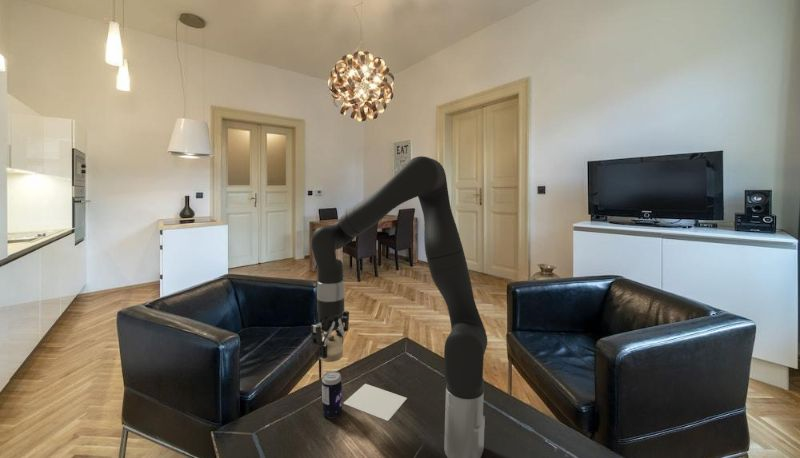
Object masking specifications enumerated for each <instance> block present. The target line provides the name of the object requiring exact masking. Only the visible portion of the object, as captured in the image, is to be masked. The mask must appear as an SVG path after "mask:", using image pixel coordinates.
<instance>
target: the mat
mask: <svg viewBox="0 0 800 458" xmlns="http://www.w3.org/2000/svg"><path fill="white" fill-rule="evenodd" d="M406 400H408V397H405V396H402V395H399V394H397V393H394V392H390V391H387V390H385V389H383V388H380V387H377V386H373V385H370V384H368V383H364V384H363V385H362V386H360V388H358V390H356V391H355V392H354V393H353V394H352V395H351V396H349V398H347V399H346V400H345V401H343V402H342V405H343V404H344V405H345V406H346V405H347V406H349V407H351V408H354V409H356V410H359V411H361V412H363V413H367V414H369V415H372V416H374V417H377V418H379V419H381V420H385V421H386V422H388V421H390V419H391V418H392V417H393V416H394V415H395V413H396V412H397V411H398V410H399V408H401V406H402V405H403V404H404V403H405V401H406Z"/></svg>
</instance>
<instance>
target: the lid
mask: <svg viewBox="0 0 800 458" xmlns="http://www.w3.org/2000/svg"><path fill="white" fill-rule="evenodd" d="M322 341H324V337H323V339H322ZM343 347H344V338H343V339H342V337H341V336H338V335H337V334H331V336H330V338H328V342H327V358H325V359H324V358H321V357H320V356H319V359H320V360H321V361H323V362H326V363H334V362H338V361H339V360H341V359H342V358H343V356H344V354H343V353H344V352H343Z"/></svg>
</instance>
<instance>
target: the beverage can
mask: <svg viewBox="0 0 800 458" xmlns="http://www.w3.org/2000/svg"><path fill="white" fill-rule="evenodd" d="M321 395H322V396H321V398H322V400H321V405H322V407H321V408H322V415H323V416H324V417H326V418H328V419H334V418H337V417H339V416H340V415H341V414H342V412H343V378H342V376H341V373H340V372H339V371H327V372H326V373H324V375H323V376H322V379H321Z"/></svg>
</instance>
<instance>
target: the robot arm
mask: <svg viewBox="0 0 800 458" xmlns="http://www.w3.org/2000/svg"><path fill="white" fill-rule="evenodd" d="M414 198H418V200H419V203H420V207H421V211H422V214H423V221H424V224H423V225H424V227H423V228H424V233H423V235H424V239H423V240H424V251H425V252H424V253H425V258H426V261H427V265H428V269H429V273H430V276H431V279H432V281H433V282H434V285H435V286H436V288H437V290H438V291H439V294H440V295H441V297H442V298H443V300H444V302H445V304H446V307H447V311H448V315H449V321H450V327H451V328H450V329H451V330H450V333H449V334H448V336H447V337H446V340H445V343H444V348H443V349H444V352H443V353H444V354H443V371H444V372H443V375H444V380H445V407H444V411H445V414H444V440H443V444H444V446H443V447H444V448H443V449H444V454H445V456H446V457H447V458H482V455H483V453H484V449H485V446H484V443H485V426H486V425H485V424H486V423H485V421H486V420H485V419H486V416H485V415H484V394H485V380H484V379H485V378H484V377H483V376H484V358H485V353H486V350H487V346H488V335H487V332H486V329H485V326H484V323H483V320H482V318H481V316H480V313H479V310H478V308H477V305H476V301H475V296H474V293H473V287H472V282H471V277H470V272H469V268H468V262H467V259H466V255H465V251H464V247H463V244H462V241H461V237H460V234H459V230H458V226H457V223H456V221H455V217H454V215H453V212H452V206H451V202H450V196H449V188H448V181H447V174H446V171H445V169H444V166H443V165H442V164H441V162H439V161H438V160H436V159H434V158H431V157H428V156H424V155H423V156H421V155H420V156H416V157H413V158H411V159H410V160H408V162H407V163H405V164H404V166H402V167H401V168H400V169H399V170H398V171H397V172H396V173H395V174H394V175H393V176H392V177H391V178H390V179H389V180H388V181H387V182H385V183H384V184H383V185H382V186H381V187H379V188H378V189H377V190H376V191H374V192H373V193H371V194H370V195H369V196H368V197H366V198H363V200H361V201H359V202H358V203H357V204H355V205H354V206H352V207H351V208H349V209H348V210H346V211H345V212H344V213H343V214H342V215H341V216H340V218H339V220H338V221H336V222H335V223H333V224H330V225H326V226H321V227H318V228H316V229H315V230H314V231H313V233H312V237H311V248H312V253H313V256H314V260H315V263H316V267H317V283H316V284H317V285H316V306H317V307H316V309H317V314H318V315H319V320H318V322H317V323H316V324H311V326H310V332H311V341H312V345H313V346H316V347H318V357H319V358H320V357H321V358H324V359H325V358H327V342H328V338H330V336H331V335H332V333H333V332H334V333H335V335H338V336H341V337H342V339H343V340H344V335H345V333H346V332H348V331H349V321H350V311H348V310H345V284H344V264H343V261H342V260H340V259H339V258H337V255H336V250H339V249H342V248H343V247H346V245H348V244H349V243H350V242H352V241H353V240H354V239H355V238H356V237H357V236H360V235H361V234H363V233H365V232H366V231H368V230H369V229H371V228H372V227H374V226H375V225H376V224H378V223H379V222H380V221H382V220H383V219H384V218H385V216H387V215H388V214H389V213H391V212H392V211H393V210H394V209H395V208H397V207H399V206H400V205H402V204H404V203H405V202H407V201H410V200H412V199H414ZM323 337H324V341H322V339H323Z"/></svg>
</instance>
